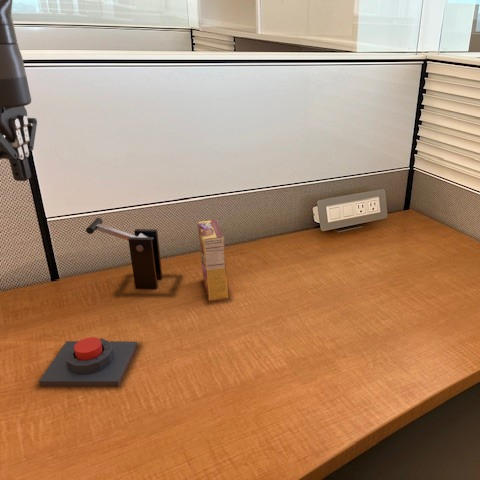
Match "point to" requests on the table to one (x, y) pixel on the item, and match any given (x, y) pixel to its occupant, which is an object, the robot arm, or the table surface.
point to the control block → (90, 366)
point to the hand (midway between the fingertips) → (23, 179)
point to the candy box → (213, 259)
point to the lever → (111, 230)
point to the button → (88, 349)
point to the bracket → (145, 259)
